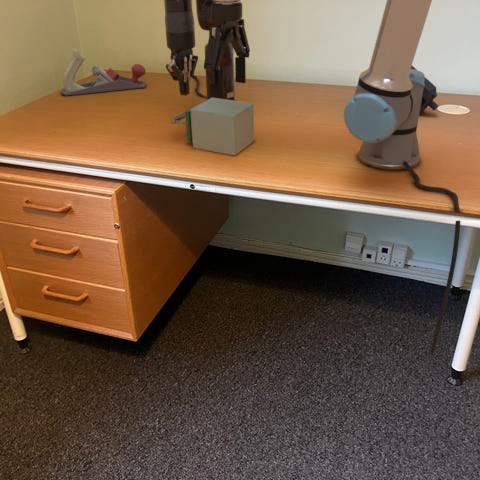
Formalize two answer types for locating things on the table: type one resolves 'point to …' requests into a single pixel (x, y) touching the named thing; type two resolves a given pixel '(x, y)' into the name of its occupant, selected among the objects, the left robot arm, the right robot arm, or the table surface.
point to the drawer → (187, 116)
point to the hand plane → (105, 80)
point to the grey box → (222, 125)
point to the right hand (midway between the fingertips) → (228, 89)
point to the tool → (428, 95)
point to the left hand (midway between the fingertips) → (184, 94)
